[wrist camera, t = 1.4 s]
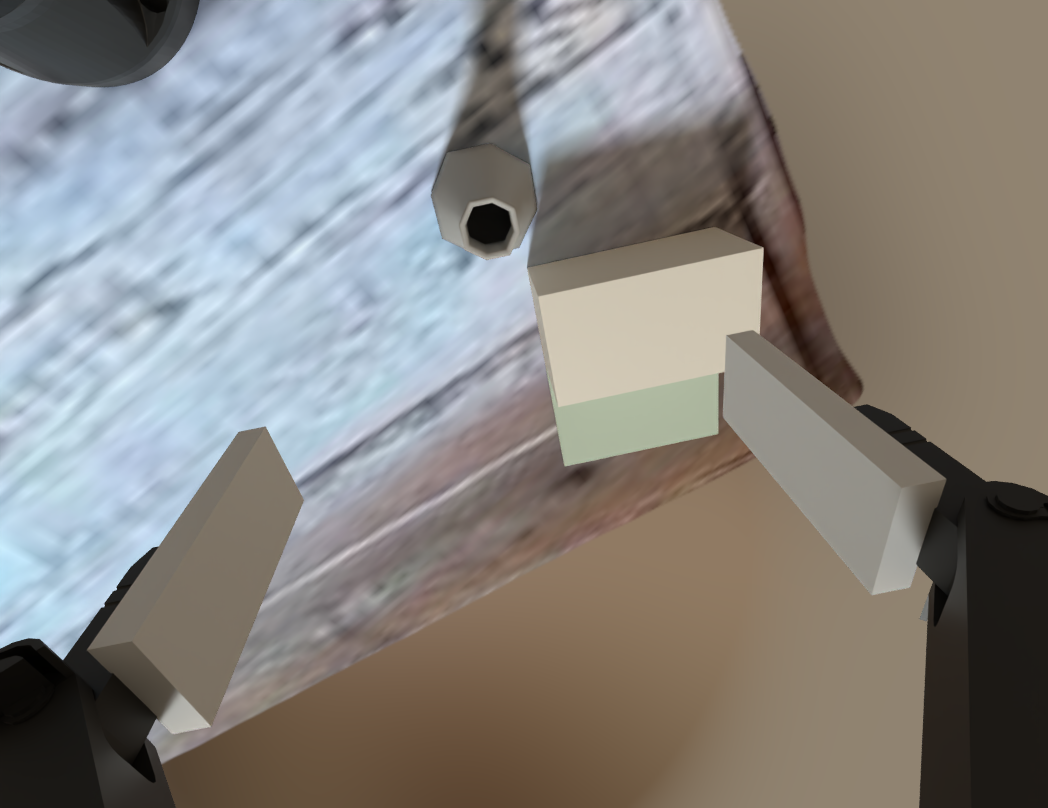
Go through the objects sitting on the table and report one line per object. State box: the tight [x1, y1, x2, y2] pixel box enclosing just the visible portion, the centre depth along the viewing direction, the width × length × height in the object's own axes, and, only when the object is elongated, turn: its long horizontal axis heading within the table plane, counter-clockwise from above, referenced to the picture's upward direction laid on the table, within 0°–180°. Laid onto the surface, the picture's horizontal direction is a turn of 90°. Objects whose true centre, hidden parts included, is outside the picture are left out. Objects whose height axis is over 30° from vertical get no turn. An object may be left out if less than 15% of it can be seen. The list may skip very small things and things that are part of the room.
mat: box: [546, 369, 718, 466], centre depth 43 cm, size 10×14×1 cm
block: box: [527, 227, 763, 407], centre depth 36 cm, size 8×14×7 cm, turn 101°
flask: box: [431, 143, 537, 260], centre depth 30 cm, size 7×7×10 cm
